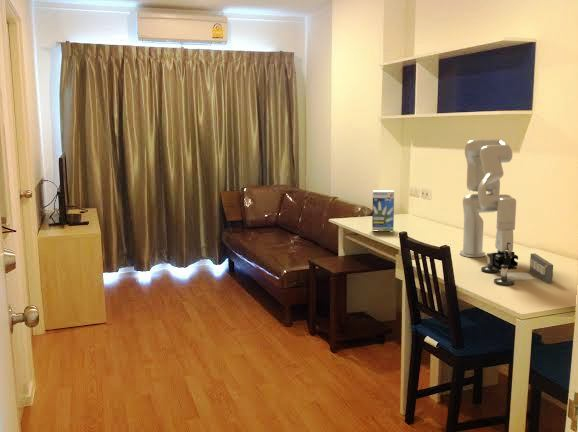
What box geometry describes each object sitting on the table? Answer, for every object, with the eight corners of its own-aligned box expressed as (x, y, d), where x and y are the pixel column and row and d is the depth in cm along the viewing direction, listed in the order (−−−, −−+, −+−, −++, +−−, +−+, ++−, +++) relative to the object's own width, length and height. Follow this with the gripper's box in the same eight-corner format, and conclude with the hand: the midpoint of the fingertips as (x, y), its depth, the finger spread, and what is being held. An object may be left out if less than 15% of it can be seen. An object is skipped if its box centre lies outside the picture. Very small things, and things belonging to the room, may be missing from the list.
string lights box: (372, 231, 346) (372, 191, 342) (373, 229, 353) (373, 189, 349) (393, 232, 343) (393, 191, 338) (393, 230, 350) (394, 190, 346)
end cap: (510, 264, 248) (510, 250, 247) (518, 269, 241) (519, 254, 240) (489, 265, 247) (489, 251, 246) (496, 270, 240) (497, 255, 239)
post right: (491, 280, 239) (492, 262, 238) (510, 280, 239) (511, 262, 238) (497, 286, 232) (498, 267, 230) (516, 286, 231) (517, 267, 230)
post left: (477, 269, 257) (477, 253, 255) (492, 267, 259) (492, 251, 258) (488, 273, 249) (488, 256, 248) (503, 271, 251) (503, 254, 250)
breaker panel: (527, 270, 253) (528, 253, 252) (534, 270, 253) (535, 253, 252) (544, 283, 234) (545, 264, 232) (552, 283, 234) (553, 264, 232)
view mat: (500, 273, 249) (500, 272, 249) (527, 273, 249) (527, 272, 248) (507, 279, 239) (507, 279, 239) (535, 279, 239) (535, 278, 239)
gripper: (491, 221, 249) (489, 259, 252) (503, 229, 232) (501, 269, 235) (508, 221, 249) (506, 259, 252) (521, 229, 232) (519, 269, 235)
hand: (503, 264), depth 244 cm, fingers closed on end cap, 7 cm apart
